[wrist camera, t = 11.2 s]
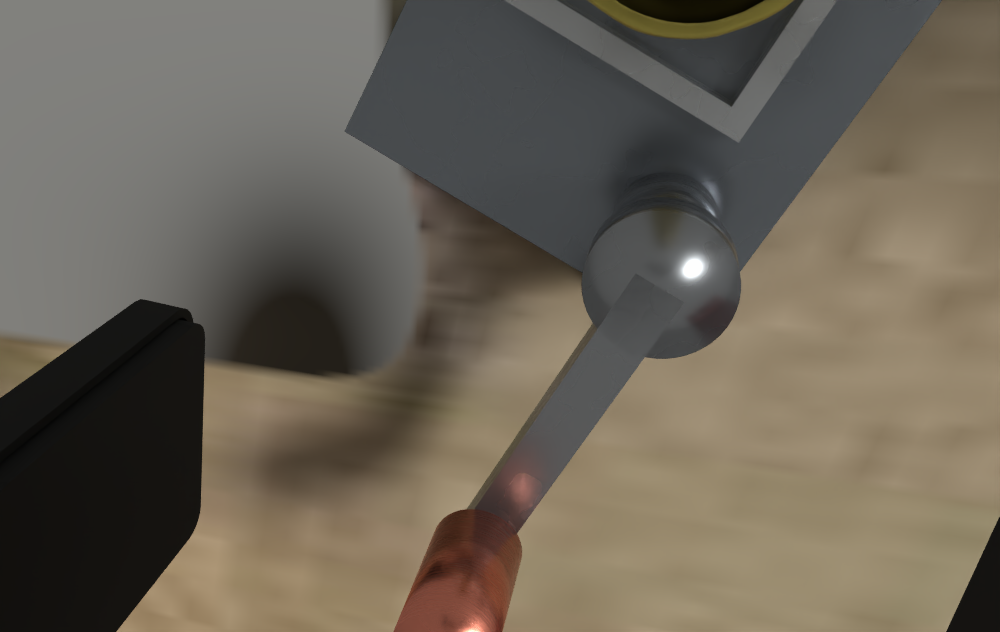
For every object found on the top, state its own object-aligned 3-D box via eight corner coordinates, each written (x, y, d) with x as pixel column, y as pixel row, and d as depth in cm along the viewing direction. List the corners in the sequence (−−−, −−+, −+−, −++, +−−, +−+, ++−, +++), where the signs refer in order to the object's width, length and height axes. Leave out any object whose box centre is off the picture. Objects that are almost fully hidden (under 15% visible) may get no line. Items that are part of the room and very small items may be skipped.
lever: (638, 168, 27) (622, 242, 21) (769, 248, 27) (791, 343, 21) (412, 518, 33) (351, 650, 27) (520, 580, 33) (483, 724, 27)
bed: (625, -440, 26) (611, -519, 21) (1052, -167, 26) (1132, -183, 22) (355, 124, 33) (299, 160, 29) (690, 323, 34) (690, 392, 29)
